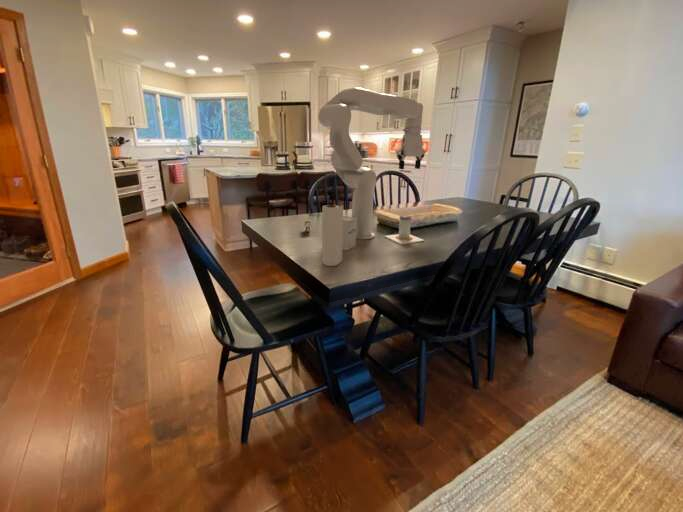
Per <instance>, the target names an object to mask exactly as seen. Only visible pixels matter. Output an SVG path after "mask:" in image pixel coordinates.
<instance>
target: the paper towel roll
mask: <svg viewBox="0 0 683 512" xmlns="http://www.w3.org/2000/svg"><path fill="white" fill-rule="evenodd" d="M321 209H322V213H321V215H322V216H321V217H322V221H321V223H322V224H321V225H322V231H321V232H322V241H321V242H322V247H321V248H322V249H321V250H322V251H321V252H322V257H321V258H322V265H324V266H328V267H335V266H338V265H339V264H341V262H342V261H343V250H342V238H343V216H344V205H341V206H339V205H336V204H334V205H333V204H327V205H325V204H324V205H322V208H321Z"/></svg>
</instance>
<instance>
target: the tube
mask: <svg viewBox="0 0 683 512" xmlns="http://www.w3.org/2000/svg"><path fill="white" fill-rule="evenodd" d="M411 225H412V216H411V215H405V214H404V215H400V216H399V225H398V234H399V238H400V239H409V237H410V235H411Z"/></svg>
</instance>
